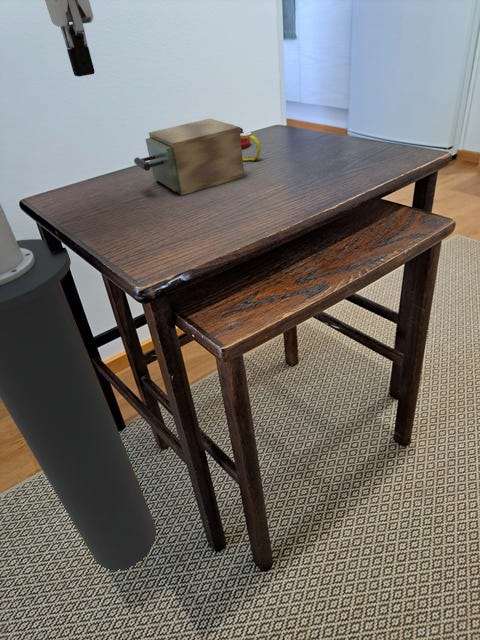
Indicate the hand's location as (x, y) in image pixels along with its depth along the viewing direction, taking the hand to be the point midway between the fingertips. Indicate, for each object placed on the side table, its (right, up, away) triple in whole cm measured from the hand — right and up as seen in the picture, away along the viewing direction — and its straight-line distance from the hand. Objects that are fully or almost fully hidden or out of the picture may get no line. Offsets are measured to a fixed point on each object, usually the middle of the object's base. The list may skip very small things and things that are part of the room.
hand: (84, 74), depth 76 cm
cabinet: (+18, -11, +22) cm, 30 cm away
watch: (+28, -4, +29) cm, 41 cm away
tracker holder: (+25, +4, +42) cm, 49 cm away
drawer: (+14, -12, +20) cm, 27 cm away
